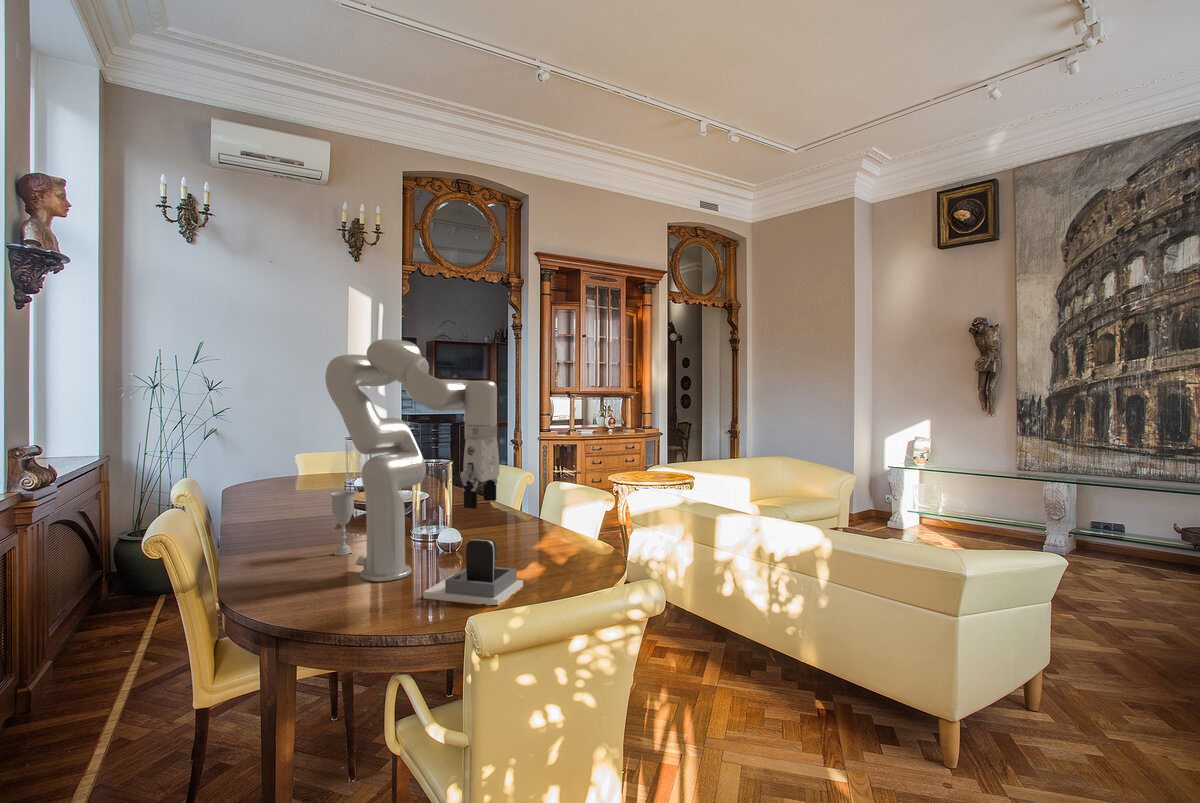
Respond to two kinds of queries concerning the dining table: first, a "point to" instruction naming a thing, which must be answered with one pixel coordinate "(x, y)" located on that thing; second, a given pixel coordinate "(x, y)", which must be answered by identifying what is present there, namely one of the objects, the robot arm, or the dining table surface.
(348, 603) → the dining table surface
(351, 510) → the chalice
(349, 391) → the robot arm
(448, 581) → the dock
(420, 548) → the dining table surface
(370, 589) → the dining table surface
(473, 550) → the battery charger
